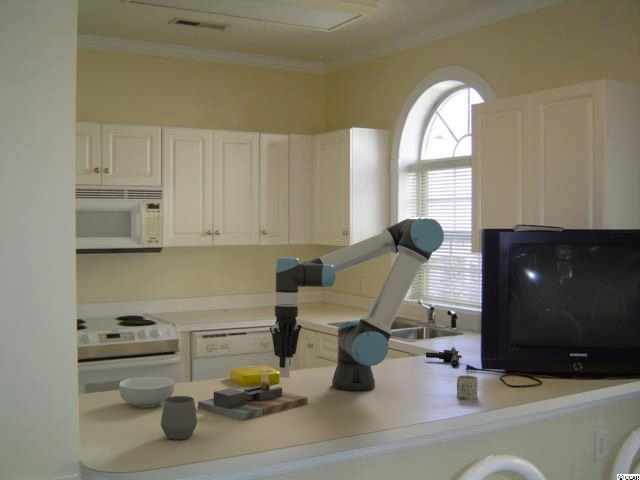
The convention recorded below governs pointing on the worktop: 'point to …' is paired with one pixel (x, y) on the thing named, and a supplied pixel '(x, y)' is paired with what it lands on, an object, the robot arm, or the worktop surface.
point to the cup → (179, 417)
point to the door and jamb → (256, 406)
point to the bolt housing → (243, 396)
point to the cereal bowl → (146, 390)
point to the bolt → (264, 386)
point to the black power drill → (447, 356)
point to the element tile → (253, 375)
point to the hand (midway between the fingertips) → (284, 377)
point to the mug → (467, 387)
